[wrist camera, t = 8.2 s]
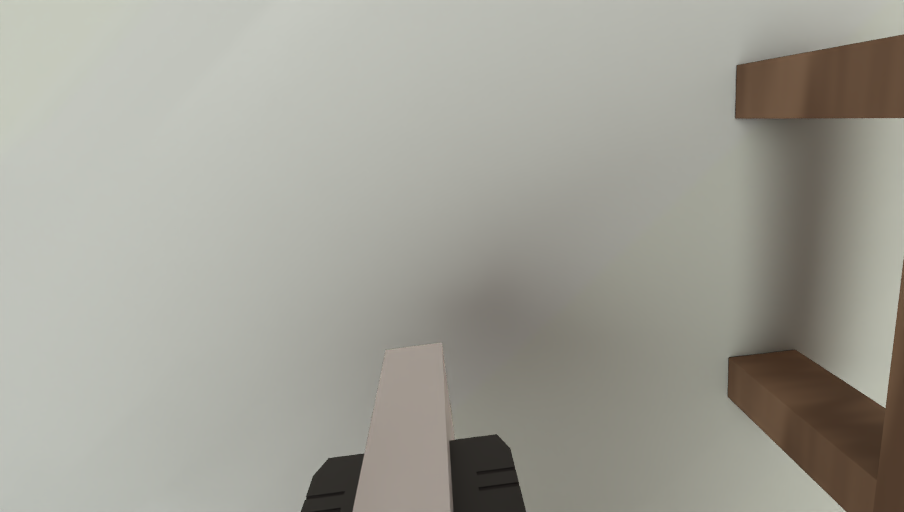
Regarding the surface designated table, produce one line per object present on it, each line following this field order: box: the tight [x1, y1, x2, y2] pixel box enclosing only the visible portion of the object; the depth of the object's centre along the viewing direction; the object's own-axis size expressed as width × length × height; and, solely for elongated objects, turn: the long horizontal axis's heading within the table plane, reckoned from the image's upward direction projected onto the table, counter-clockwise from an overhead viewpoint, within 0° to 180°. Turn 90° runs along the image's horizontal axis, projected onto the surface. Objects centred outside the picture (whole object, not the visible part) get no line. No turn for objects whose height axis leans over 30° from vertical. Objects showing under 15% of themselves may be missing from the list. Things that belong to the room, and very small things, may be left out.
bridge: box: [728, 35, 904, 512], centre depth 17 cm, size 3×14×9 cm, turn 7°
